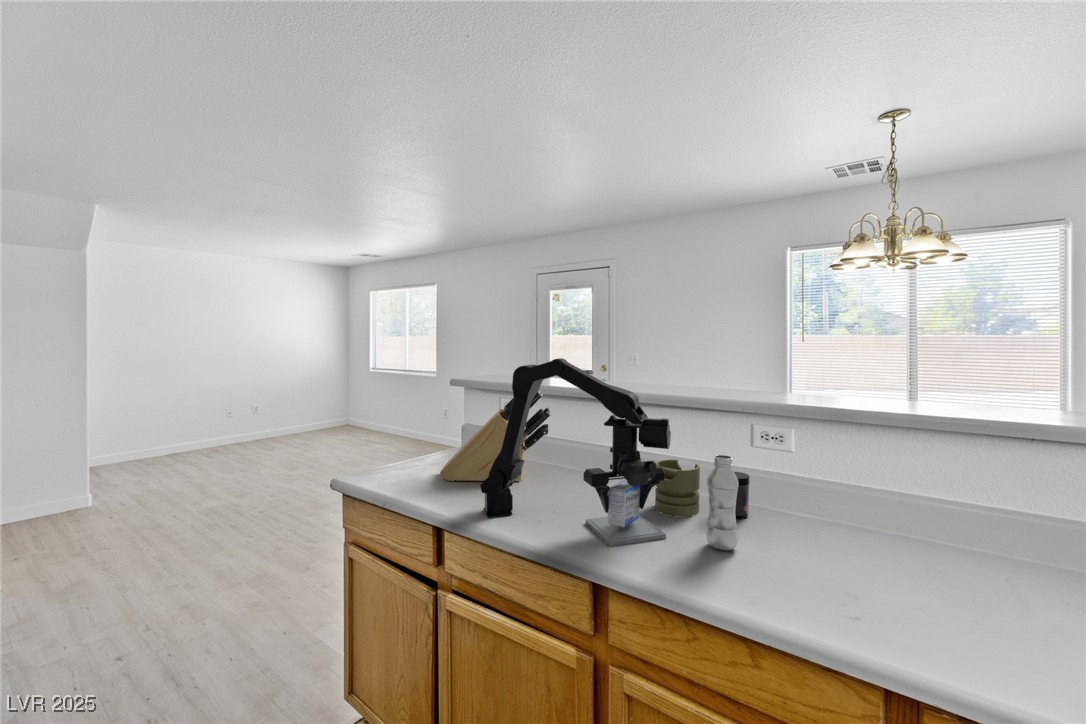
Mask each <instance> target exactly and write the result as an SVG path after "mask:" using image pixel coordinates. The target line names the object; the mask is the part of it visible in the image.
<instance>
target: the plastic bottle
mask: <svg viewBox="0 0 1086 724" xmlns="http://www.w3.org/2000/svg"><path fill="white" fill-rule="evenodd" d="M713 458H714V459H713V466H714V467H713V468H712V470H711V471H710V472H709V474H708V475H707V479H706V484H707V492H708V499H709V500H708V502H709V506H708V507H709V512H708V523H707V526H706V533H705V535H706V541H707V543H708V544H709V545H710V547H712V548H714V549H716V550H719V551H732V550H733V551H734V549H735V548H736V547H737V545H738V544H739V533H738V528H737V519H736V515H735V510H736V508H735V507H736V498H737V492H738V484H739V482H738V479H737V477H736V475H735V473H734V472H733V471H734V470H733V469H732V467H734V466H733V464H734V463H733V457H732V456H729V455H725V454H717V455H714V457H713Z"/></svg>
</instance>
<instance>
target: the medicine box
mask: <svg viewBox="0 0 1086 724" xmlns="http://www.w3.org/2000/svg"><path fill="white" fill-rule="evenodd" d="M609 487H610V489H609V491H608V503H609V509H608V513H607V517H608V523H609V524H612V525H616V526H620V527H623V528H625V527H626V526H628V525H629V524H631V523H632V522H634V521H635V520H637V519H638V518H639V515H640V507H639V503H640V484H638V485H635V486H632V485H629V484H628V483H627V480H624V481H621V482H619V483H617V484H615V485H612V486H609Z"/></svg>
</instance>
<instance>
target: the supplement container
mask: <svg viewBox="0 0 1086 724" xmlns="http://www.w3.org/2000/svg"><path fill="white" fill-rule="evenodd" d="M732 471H733V472H734V473H735V475H736V477H737V479H738V482H739V484H738V492H737V498H736V507H735V508H736V510H735V515H736V518H737V519H741V520H742V519H745V518H747V517H748V516H749V514H750V513H749V511H750V510H749V509H750V483H751V482H750V481H751V480H750V477H751V476H750V474H748V473H746V472H742V471H734V470H732ZM737 519H736V520H737Z"/></svg>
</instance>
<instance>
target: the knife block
mask: <svg viewBox="0 0 1086 724" xmlns="http://www.w3.org/2000/svg"><path fill="white" fill-rule="evenodd" d="M543 395H544V394H543V392H542V391H541V390H538V392H537V393H536V395H535V396H534V398H533V400H532V402H531V405H530V409H531V408H533V406H535V404H537V402H538V401H539V400H540V399H541V398H542V397H543ZM513 400H514V397H512V398H511V399H510V400H509V401H508V403H507V404H506V405H505V406H504V407H503V408H500V409H499V410H497V412H496V413H495V414H494V415H493V416H492V417H491V418H490V419H489V420H487V422H486V423H485V424H484V425H483V426H482V427H481V428H480V429H479V430H478V431H477V432H476V433H474V435H473V436H472V437H471V438H469V440H468V441H467V442H466V443H465V444H464V445H462V447H461V448H460V449H459V450H458V451H457V452H456V453H455V454H454V455H453V456H452V457H451V458H450V459H449V460H448V461H447V462H446V464H445V465H444V466H443V467H442V469H441V470H440V471H439V474H440V476H442V477H443V479H444V480H446V481H451V482H455V480H456V481H471V482H472V481H476V482H477V481H483V482H484V481H485V480H486V479H487V478H488V477H489V472H490V469H491V467H492V465H493V462H494V461H495V459H496V458H497V456H498V454H499V453H500V451H501V448H502V444H503V440H504V436H505V432H506V428H507V424H508V420H509V416H510V412H511V408H512V404H513ZM551 415H552V413H551V408H550V407H549V406H547V407H546V408H544V409H542V408H540V409H539V410H537V411H536V412H535V413H534V414H533V415H532V416H531V417H530V418H529V419H527V421H526V425H525V429H524V433H523V437H522V441H521V445H520V449H519V457H520V459H521V460H524V452H526V450H528V449H529V448H531V447H532V446H533V445H534V444H536V443H537V442H539V440H541V439H542V438H543V437H544V436H546V435H548V433H549V424H548V423H544V422H545V421H546V420H547V419H548V418H549V417H550V416H551ZM543 423H544V424H543ZM523 473H524V465H523V466H522V474H521V475H520V476H518V478H517V479H516V480H514V482H516V481H517V482H519V481H522V478H523Z"/></svg>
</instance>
